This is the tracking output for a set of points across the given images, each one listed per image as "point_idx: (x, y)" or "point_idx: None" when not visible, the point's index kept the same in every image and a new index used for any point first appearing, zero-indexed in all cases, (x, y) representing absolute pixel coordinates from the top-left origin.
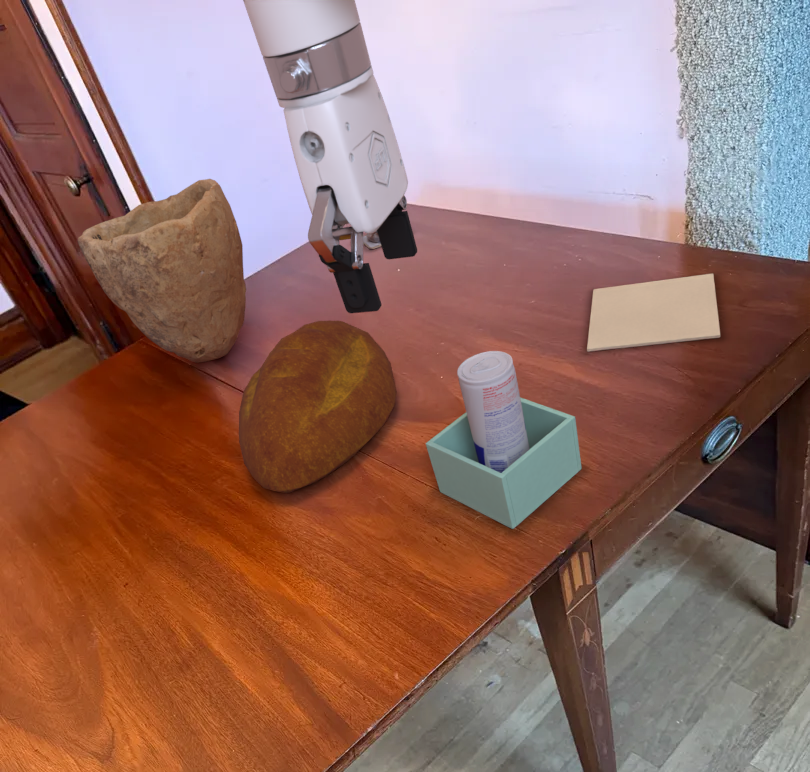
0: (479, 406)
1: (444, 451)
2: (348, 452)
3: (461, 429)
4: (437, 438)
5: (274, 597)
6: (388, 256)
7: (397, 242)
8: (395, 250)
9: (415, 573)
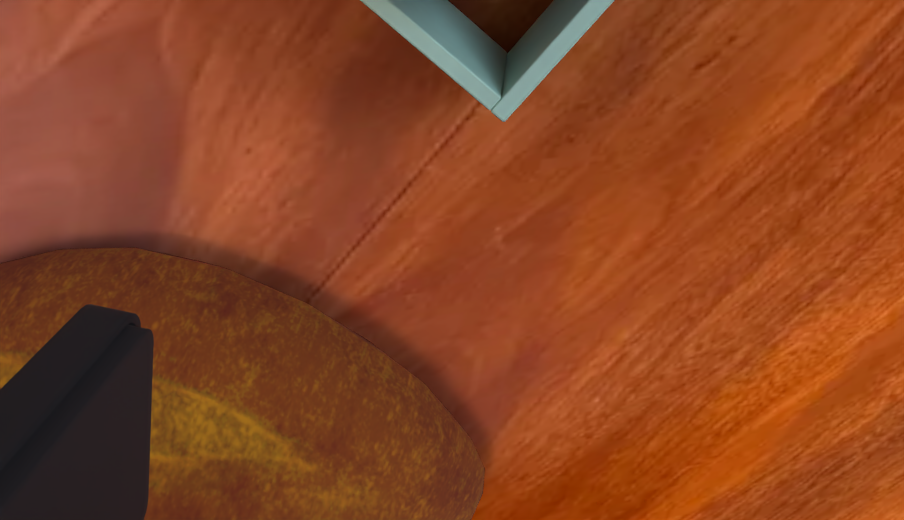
0: None
1: (564, 52)
2: (363, 346)
3: (408, 7)
4: (485, 83)
5: (803, 428)
6: (140, 507)
7: (92, 496)
8: (125, 480)
9: (821, 109)
